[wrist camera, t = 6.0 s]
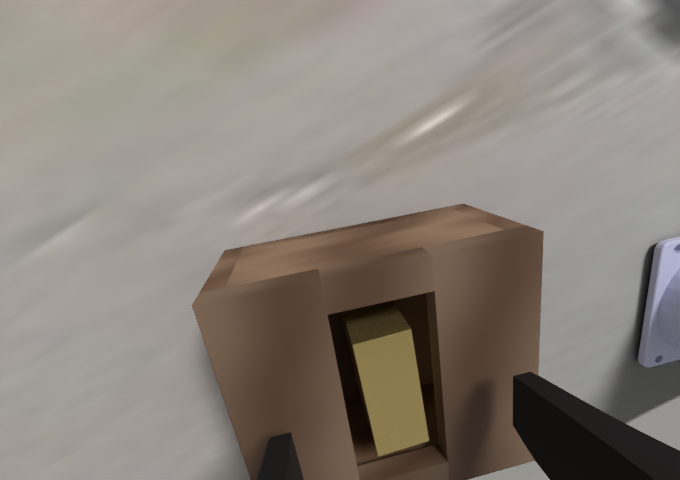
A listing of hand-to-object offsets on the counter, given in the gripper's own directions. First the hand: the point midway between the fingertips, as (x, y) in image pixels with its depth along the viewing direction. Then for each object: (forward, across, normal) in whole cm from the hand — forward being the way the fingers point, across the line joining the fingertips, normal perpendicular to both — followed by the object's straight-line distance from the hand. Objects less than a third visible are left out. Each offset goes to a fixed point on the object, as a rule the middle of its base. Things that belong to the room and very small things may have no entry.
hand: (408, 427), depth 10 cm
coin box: (+6, 0, 0) cm, 6 cm away
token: (+6, 0, 0) cm, 6 cm away
